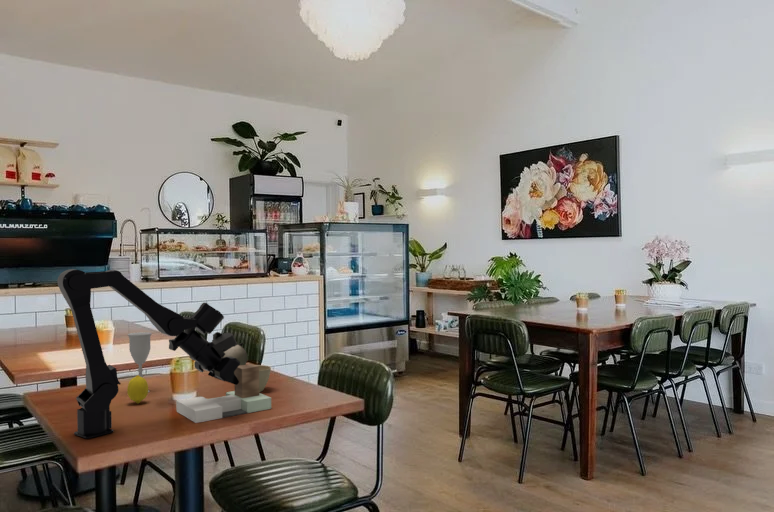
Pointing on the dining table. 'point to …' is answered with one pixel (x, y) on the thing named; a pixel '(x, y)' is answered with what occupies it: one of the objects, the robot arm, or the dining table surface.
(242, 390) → the walnut block
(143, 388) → the lemon
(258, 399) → the board
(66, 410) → the dining table surface
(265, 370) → the flower pot
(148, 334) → the chalice
